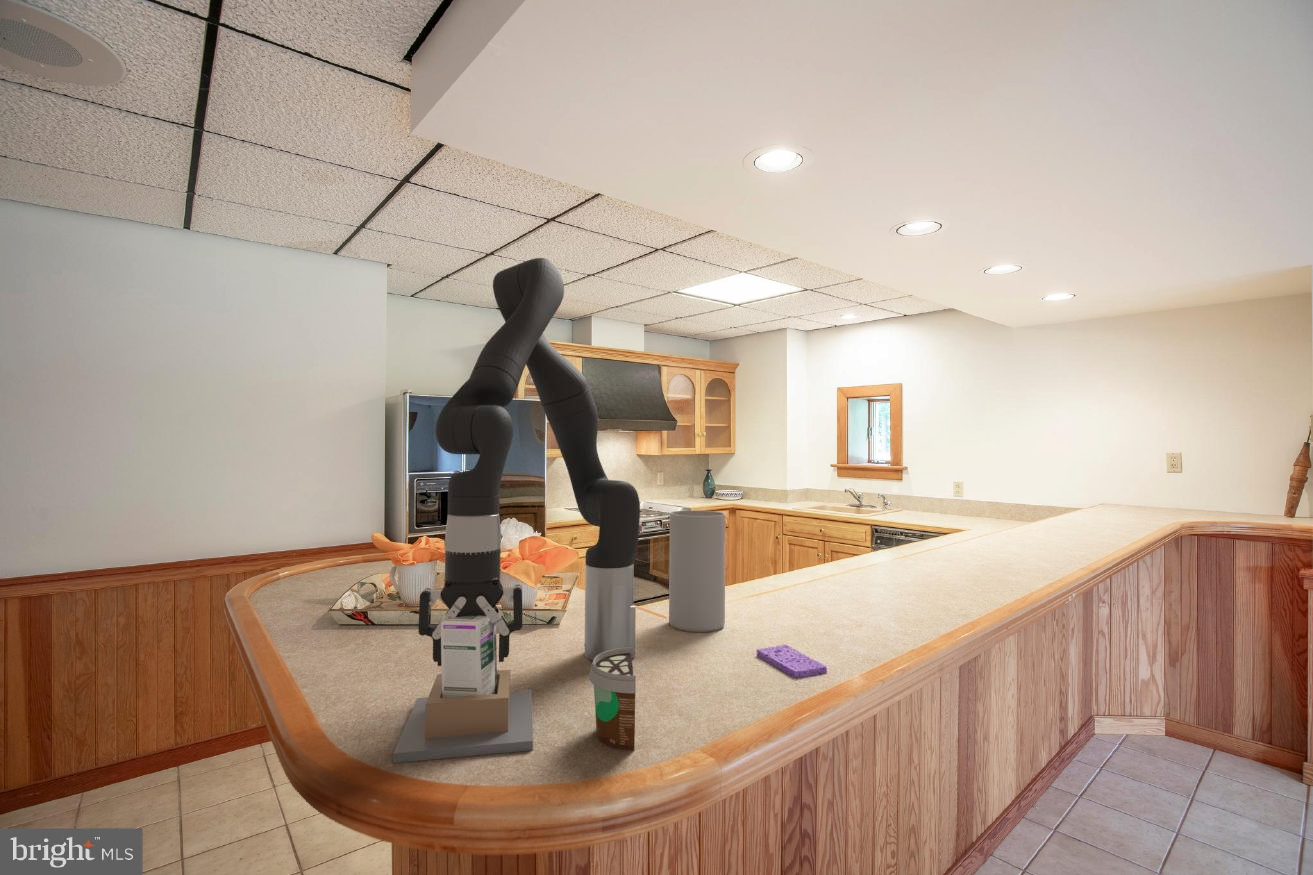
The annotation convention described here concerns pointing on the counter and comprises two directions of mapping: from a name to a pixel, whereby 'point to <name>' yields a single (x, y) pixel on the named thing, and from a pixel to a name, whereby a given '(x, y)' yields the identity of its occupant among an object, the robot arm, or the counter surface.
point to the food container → (614, 698)
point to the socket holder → (467, 724)
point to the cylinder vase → (697, 570)
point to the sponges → (791, 661)
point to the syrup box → (468, 657)
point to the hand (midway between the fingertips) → (471, 662)
